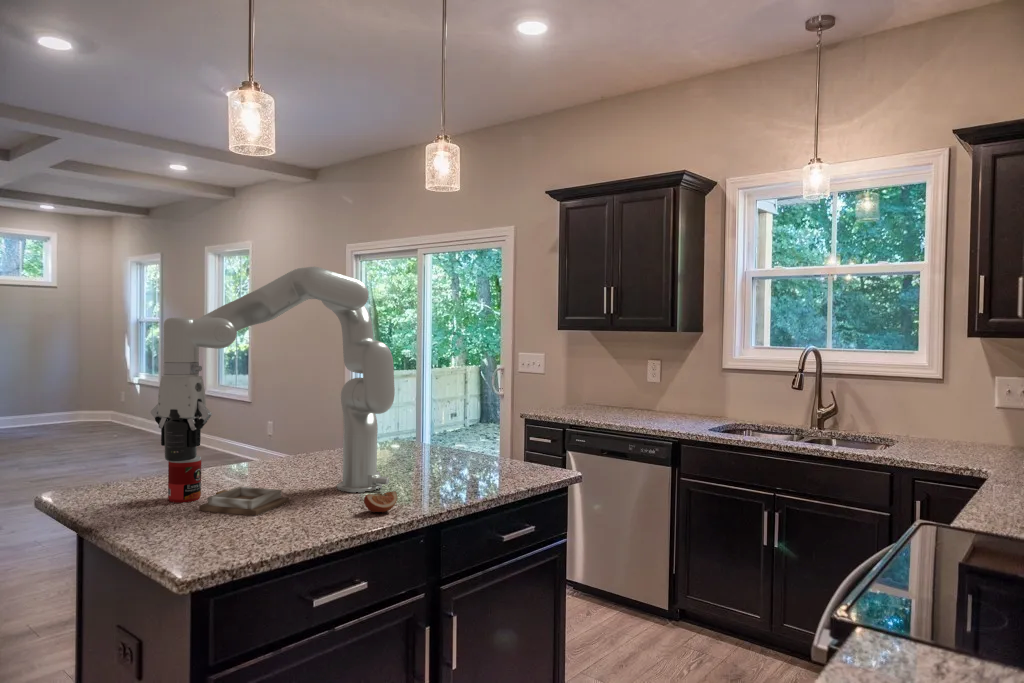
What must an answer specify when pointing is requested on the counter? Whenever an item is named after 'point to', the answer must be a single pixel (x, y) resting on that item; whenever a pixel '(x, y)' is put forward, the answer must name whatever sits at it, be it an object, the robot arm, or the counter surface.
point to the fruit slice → (380, 501)
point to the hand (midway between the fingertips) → (180, 445)
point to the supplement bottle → (178, 439)
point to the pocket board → (244, 501)
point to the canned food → (184, 480)
